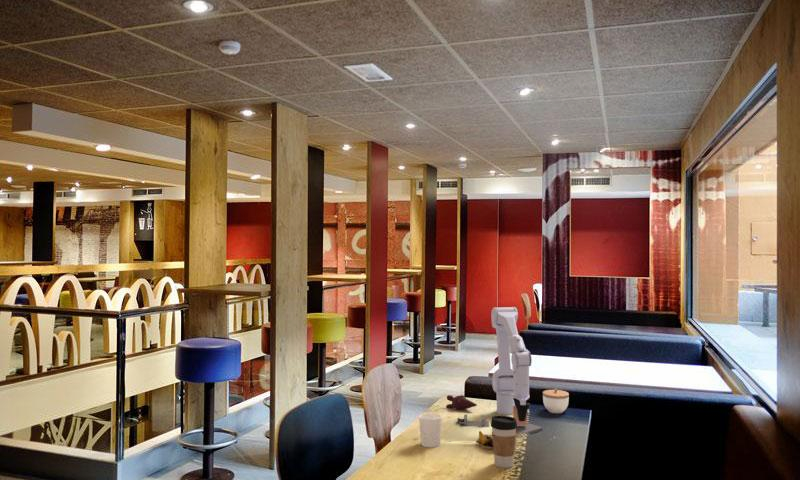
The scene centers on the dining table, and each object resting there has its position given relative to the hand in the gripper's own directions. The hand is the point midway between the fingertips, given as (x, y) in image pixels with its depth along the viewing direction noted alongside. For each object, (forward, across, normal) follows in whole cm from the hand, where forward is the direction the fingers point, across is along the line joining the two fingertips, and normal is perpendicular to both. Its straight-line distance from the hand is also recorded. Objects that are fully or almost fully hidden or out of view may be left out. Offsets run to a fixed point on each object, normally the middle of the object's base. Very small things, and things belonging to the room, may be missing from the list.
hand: (521, 419), depth 229 cm
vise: (+4, -2, -18) cm, 18 cm away
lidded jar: (+4, -26, +16) cm, 31 cm away
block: (+2, 0, 0) cm, 2 cm away
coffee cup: (+4, +37, -8) cm, 38 cm away
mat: (+4, 0, 0) cm, 4 cm away
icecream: (+4, -22, -23) cm, 32 cm away
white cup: (+4, +20, -33) cm, 39 cm away
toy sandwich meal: (+4, +18, -10) cm, 21 cm away
